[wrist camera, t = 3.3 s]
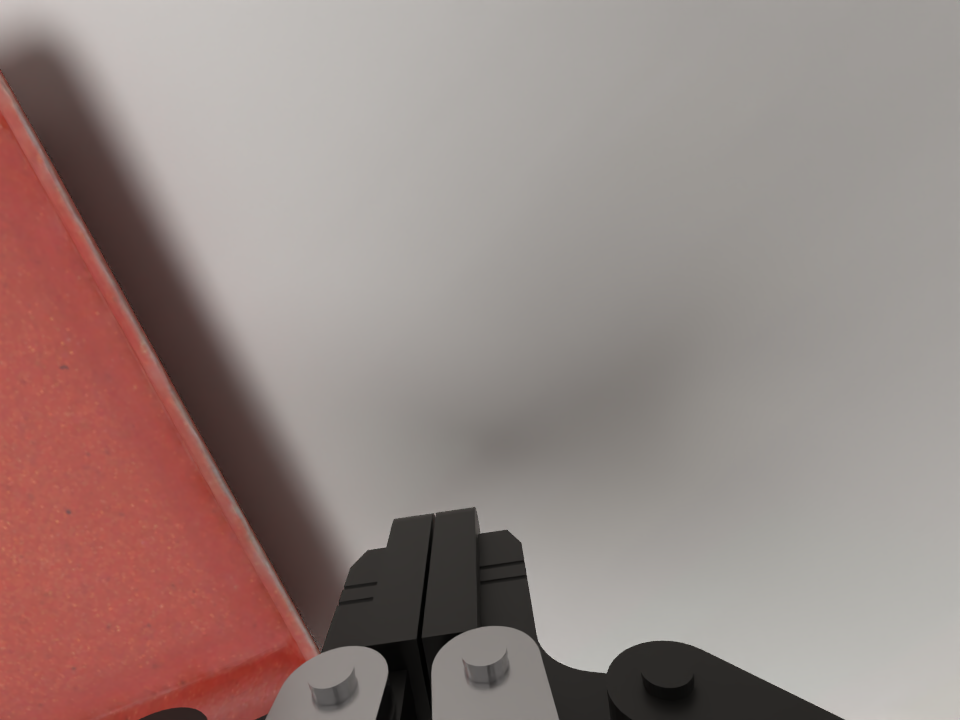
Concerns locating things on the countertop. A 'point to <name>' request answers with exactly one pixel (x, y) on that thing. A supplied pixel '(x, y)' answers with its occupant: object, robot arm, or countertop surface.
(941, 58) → the countertop surface
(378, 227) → the countertop surface
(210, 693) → the plant saucer
